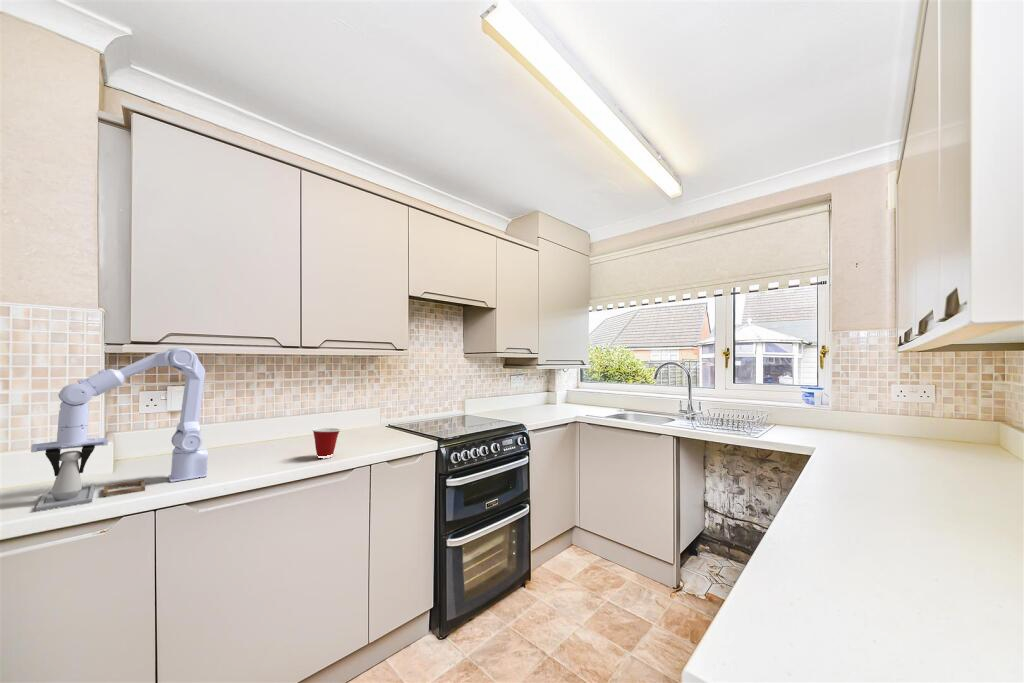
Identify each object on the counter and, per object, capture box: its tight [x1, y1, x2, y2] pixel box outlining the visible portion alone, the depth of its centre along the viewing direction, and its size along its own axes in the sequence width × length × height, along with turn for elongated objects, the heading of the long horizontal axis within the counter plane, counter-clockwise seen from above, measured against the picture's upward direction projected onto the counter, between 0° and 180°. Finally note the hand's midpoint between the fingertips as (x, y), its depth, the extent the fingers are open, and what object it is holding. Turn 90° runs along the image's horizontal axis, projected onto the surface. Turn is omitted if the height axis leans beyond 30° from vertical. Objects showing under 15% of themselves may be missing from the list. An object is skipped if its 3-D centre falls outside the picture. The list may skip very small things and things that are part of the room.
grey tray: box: [35, 484, 96, 512], centre depth 111 cm, size 10×16×1 cm, turn 45°
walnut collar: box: [102, 479, 146, 498], centre depth 119 cm, size 9×9×1 cm
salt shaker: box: [50, 450, 83, 500], centre depth 111 cm, size 6×6×13 cm
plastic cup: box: [311, 427, 341, 456], centre depth 163 cm, size 11×11×12 cm
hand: (69, 473), depth 111 cm, fingers closed on salt shaker, 4 cm apart
